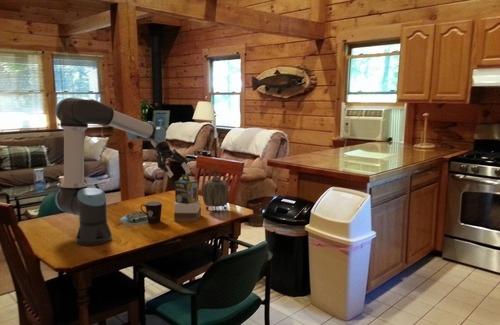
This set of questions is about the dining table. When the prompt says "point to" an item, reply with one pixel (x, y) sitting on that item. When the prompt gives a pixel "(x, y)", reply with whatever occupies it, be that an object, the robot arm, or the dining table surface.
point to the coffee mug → (153, 211)
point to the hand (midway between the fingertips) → (180, 174)
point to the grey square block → (187, 216)
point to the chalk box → (186, 190)
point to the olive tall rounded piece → (215, 192)
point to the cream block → (187, 207)
